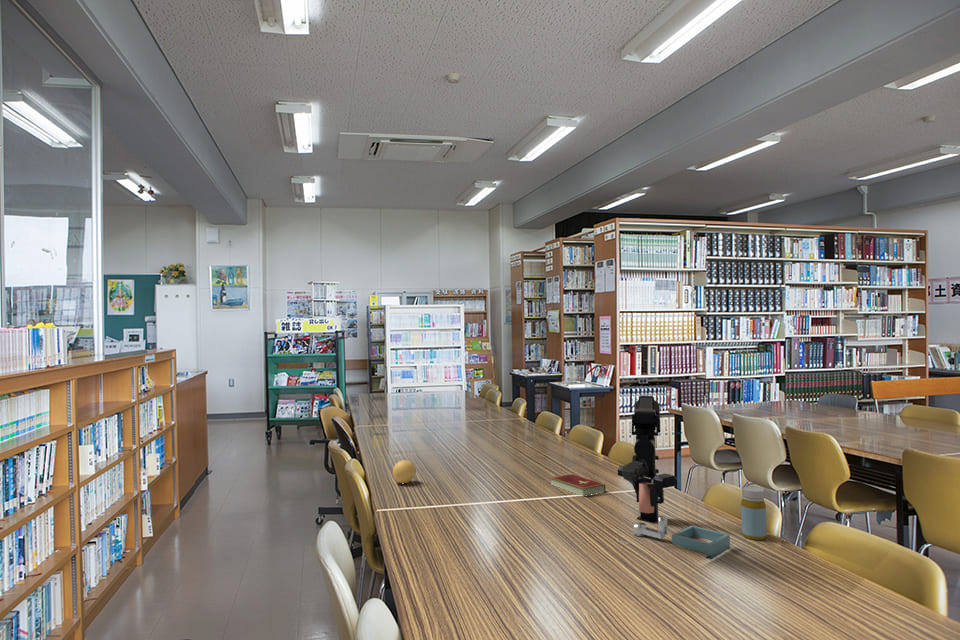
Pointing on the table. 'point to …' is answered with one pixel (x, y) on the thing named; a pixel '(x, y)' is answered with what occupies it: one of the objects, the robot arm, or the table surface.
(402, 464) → the stress ball
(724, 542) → the tray
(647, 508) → the pin
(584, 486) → the hardcover book
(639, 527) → the crank
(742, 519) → the bottle
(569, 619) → the table surface
